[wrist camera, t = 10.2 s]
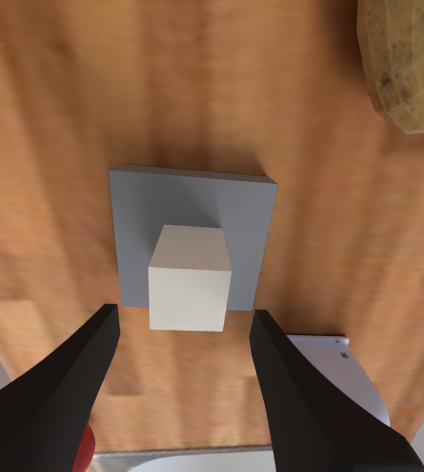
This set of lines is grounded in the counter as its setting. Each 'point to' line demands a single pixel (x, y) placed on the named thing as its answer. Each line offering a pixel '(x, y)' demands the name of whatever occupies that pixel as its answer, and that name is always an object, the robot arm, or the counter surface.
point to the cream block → (189, 279)
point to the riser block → (189, 222)
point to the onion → (85, 451)
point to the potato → (394, 59)
